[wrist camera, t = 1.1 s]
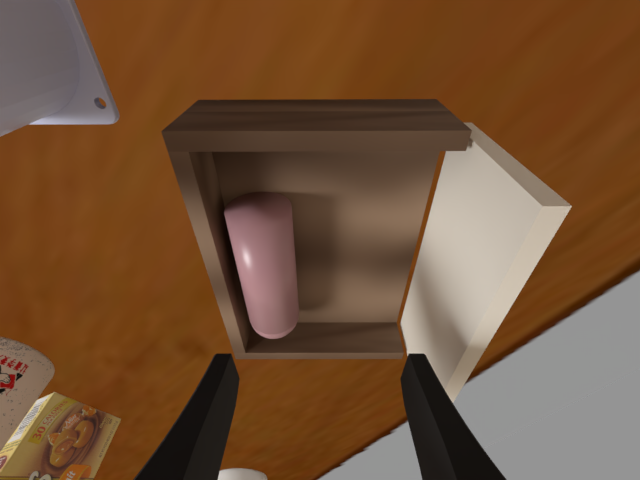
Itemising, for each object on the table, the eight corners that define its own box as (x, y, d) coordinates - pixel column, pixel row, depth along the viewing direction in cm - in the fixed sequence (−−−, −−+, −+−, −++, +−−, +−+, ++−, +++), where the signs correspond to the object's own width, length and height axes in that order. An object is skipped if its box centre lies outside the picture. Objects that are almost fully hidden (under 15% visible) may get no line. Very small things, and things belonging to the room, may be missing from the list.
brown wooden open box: (198, 99, 15) (161, 131, 11) (436, 98, 15) (472, 130, 11) (247, 308, 25) (235, 359, 21) (390, 307, 25) (401, 358, 21)
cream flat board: (453, 122, 14) (542, 206, 8) (471, 122, 14) (572, 206, 8) (399, 324, 23) (424, 426, 18) (410, 324, 23) (438, 426, 18)
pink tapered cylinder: (232, 191, 16) (216, 227, 13) (293, 191, 16) (288, 227, 13) (256, 308, 22) (248, 349, 19) (301, 308, 22) (298, 349, 19)
